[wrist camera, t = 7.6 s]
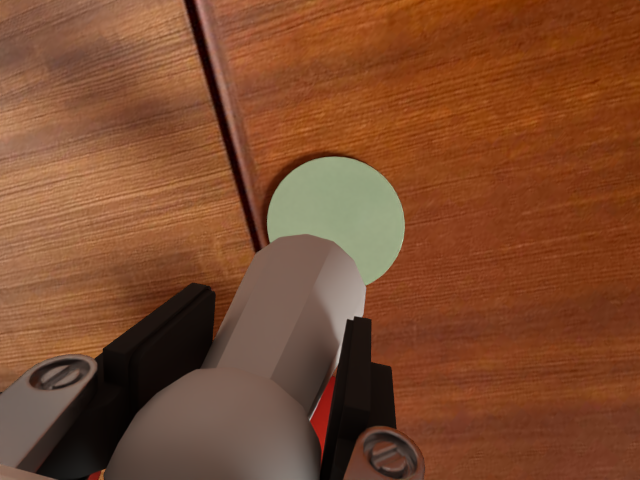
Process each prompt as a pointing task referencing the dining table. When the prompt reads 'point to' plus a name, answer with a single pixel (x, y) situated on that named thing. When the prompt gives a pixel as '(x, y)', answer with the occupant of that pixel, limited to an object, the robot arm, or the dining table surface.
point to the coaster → (341, 211)
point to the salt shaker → (254, 376)
